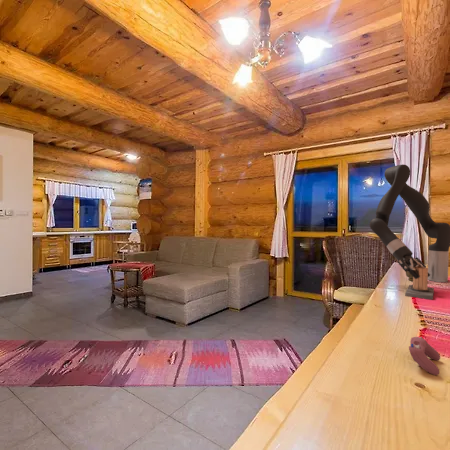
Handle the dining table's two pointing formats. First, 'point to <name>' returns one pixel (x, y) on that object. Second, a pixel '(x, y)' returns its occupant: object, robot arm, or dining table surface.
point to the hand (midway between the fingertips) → (423, 277)
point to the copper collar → (421, 278)
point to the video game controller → (424, 354)
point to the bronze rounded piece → (409, 276)
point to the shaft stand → (420, 292)
